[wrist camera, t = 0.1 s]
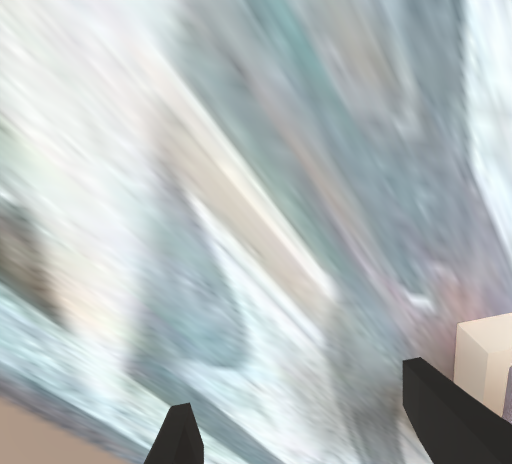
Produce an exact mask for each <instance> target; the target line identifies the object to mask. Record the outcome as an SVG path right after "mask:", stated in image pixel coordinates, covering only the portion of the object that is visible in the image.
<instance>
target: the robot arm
mask: <svg viewBox="0 0 512 464" xmlns="http://www.w3.org/2000/svg"><path fill="white" fill-rule="evenodd" d="M403 407H404V409H405V411H406V413H407V415H408V418H409V420H410V422H411V424H412V426H413V428H414V430H415V432H416V434H417V436H418V438H419V440H420V442H421V443H422V445H423V447H424V448H425V450H426V452H427V453H428V455H429V457H430V458H431V460H432V462H433V463H434V464H512V424H510V423H509V422H507V421H506V420H504V419H503V418H501V417H500V416H499V415H497V414H496V413H494V412H493V411H491V410H490V409H489V408H487V407H486V406H485V405H483V404H482V403H480V402H479V401H478V400H476V399H475V398H473V397H472V396H471V395H469V394H468V393H467V392H465V391H464V390H463V389H461V388H460V387H459V386H457V385H456V384H455V383H453V382H452V381H451V380H450V379H448V378H447V377H446V376H444V375H443V374H442V373H440V372H439V371H438V370H437V369H435V368H434V367H433V366H431V365H430V364H429V363H428V362H426V361H425V360H424V359H422V358H421V357H419V358H414V359H409V360H404V361H403ZM144 464H204V444H203V441H202V438H201V435H200V432H199V429H198V426H197V423H196V420H195V417H194V414H193V411H192V408H191V405H190V403H185V404H180V405H175V406H171V408H170V409H169V411H168V413H167V415H166V418H165V420H164V422H163V424H162V427H161V429H160V431H159V433H158V435H157V437H156V440H155V442H154V444H153V446H152V448H151V450H150V452H149V454H148V456H147V458H146V460H145V462H144Z"/></svg>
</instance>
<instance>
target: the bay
mask: <svg viewBox="0 0 512 464" xmlns="http://www.w3.org/2000/svg"><path fill="white" fill-rule="evenodd" d="M509 367H512V313H507V314H502V315H497V316H492V317H487V318H482V319H477V320H472V321H467V322H462V323H457V334H456V349H455V364H454V379H453V383H455V384H456V385H457V386H459V387H460V388H461V389H463V390H464V391H465V392H467V393H468V394H469V395H471V396H472V397H473V398H475V399H476V400H478V401H479V402H480V403H482V404H483V405H485V406H486V407H487V408H489V409H490V410H491V411H493V412H494V413H496V414H497V415H499V416H500V417H501V418H502V414H503V407H504V400H505V393H506V386H507V379H508V372H509Z"/></svg>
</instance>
